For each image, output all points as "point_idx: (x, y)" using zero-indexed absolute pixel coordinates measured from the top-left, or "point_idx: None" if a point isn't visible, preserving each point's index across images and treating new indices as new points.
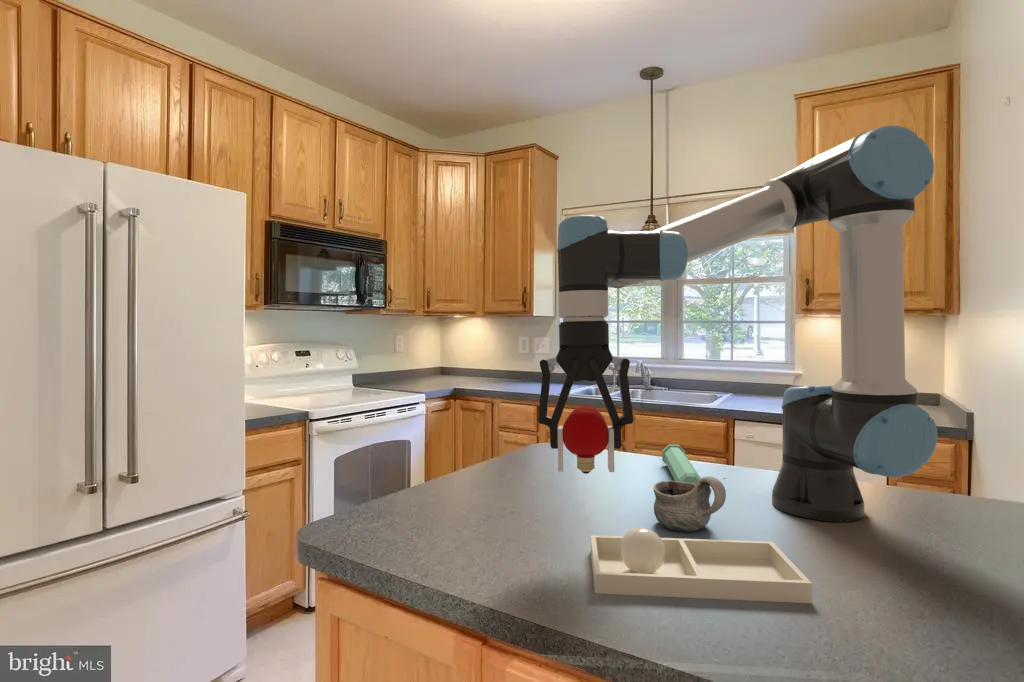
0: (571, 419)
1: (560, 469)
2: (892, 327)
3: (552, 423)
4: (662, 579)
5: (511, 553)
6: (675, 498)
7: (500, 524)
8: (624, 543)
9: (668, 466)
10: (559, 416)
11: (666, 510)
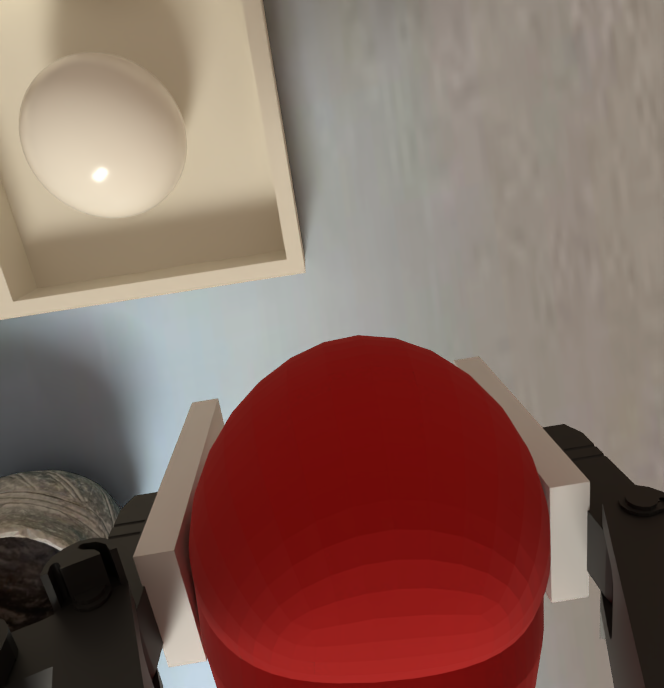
0: (505, 479)
1: (470, 363)
2: None
3: (657, 507)
4: None
5: (545, 213)
6: (15, 524)
7: (604, 422)
8: (156, 96)
9: None
10: (630, 563)
11: (71, 505)
